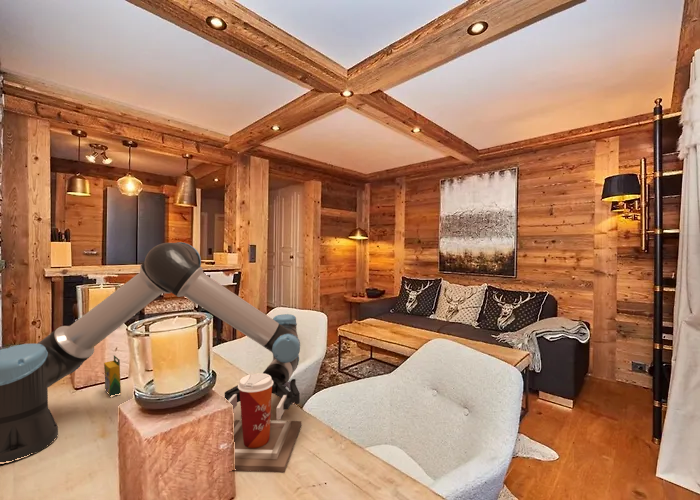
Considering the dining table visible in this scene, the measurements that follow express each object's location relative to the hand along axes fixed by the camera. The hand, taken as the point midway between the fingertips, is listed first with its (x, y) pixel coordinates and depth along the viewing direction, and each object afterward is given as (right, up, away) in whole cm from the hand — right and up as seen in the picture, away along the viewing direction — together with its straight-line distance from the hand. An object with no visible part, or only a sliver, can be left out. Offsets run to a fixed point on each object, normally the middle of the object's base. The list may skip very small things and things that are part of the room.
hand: (251, 413), depth 76 cm
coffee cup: (0, -9, +4) cm, 9 cm away
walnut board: (0, -10, +4) cm, 10 cm away
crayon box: (-55, -10, +33) cm, 65 cm away
